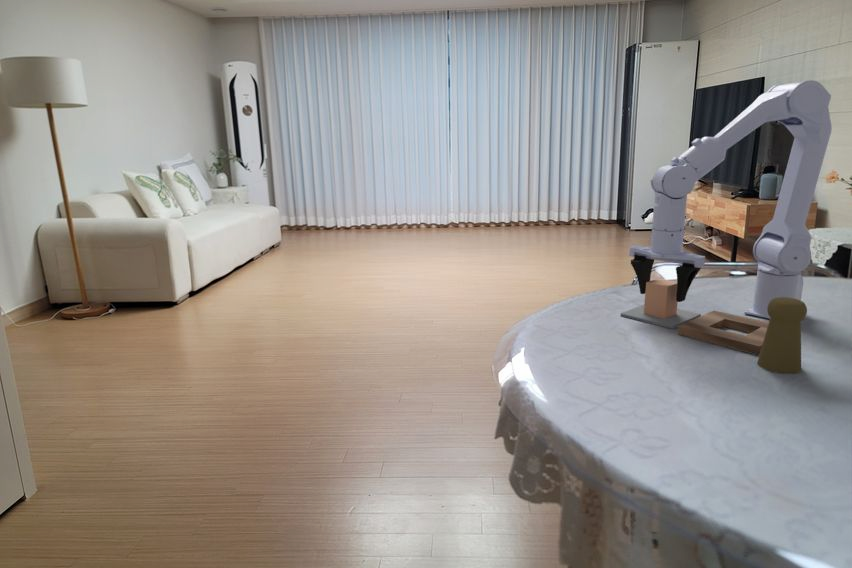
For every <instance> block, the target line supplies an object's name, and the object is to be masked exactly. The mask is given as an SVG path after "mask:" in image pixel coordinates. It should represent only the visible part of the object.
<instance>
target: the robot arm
mask: <svg viewBox="0 0 852 568" xmlns="http://www.w3.org/2000/svg"><path fill="white" fill-rule="evenodd" d="M831 99H832V95H831V93H829V91H828V90H827V89H826V88H825V86H824V85H822V83H820V82H819V81H816V80H813V79H812V80H811V79H809V80H804V81H800V82H799V81H798V82H791V83H778V84H774V85H773V86H772V87H770V88H769V89H768V90H767V91H766V92H764V93H761V94H760V95H759V96H758V97H756V99H755V100H754V101H753V102H752V103H751V104H750V105H749V106H747V107H746V108H745V109H744V110H743V111H742V112H740V114H738V115H737V116H736V117H735V118H733V120H731V121H730V122H729V123H728V124H727V125H726V126H724V127H723V128H722V129H721V130H720V131H719V132H718V133H717V134H715V135H714V136H703V137H701V138H695V139H693V141H691V145H692V146H690V147H689V148H687V149H686V150H685V151H684V152H683V153H682V154H680V155H679V156H674V157H673V158H672V159H670V162H671V163H670V164H668V165H663V166H661V167H659V168H658V169H657V170H656V171H655V173H654V176H653V177H652V179H650V186H651V188H652V190H653V192H654V193H655V194H654V202H653V213H652V214H653V215H652V225H651V238H650V239H651V241H650V246H641V245H634V246H630V247H629V254H628V256H629V257H632V258H633V259H631V260H630V264H631V267H632V268H633V271H634V273H635V275H636V279H637V282H638V288H639V293H640V294H641V295H645V291H646V282H649V281H651V275H652V270H653V266H654V262H655V260H656V261H661V262H667V263H673V264H674V263H675V264H679V266H678V265H677V266H675V271H676V272H675V273H676V278H677V279H676V282H677V293H676V301H677V302H678V303H682V302H684V301H686V297H687V294H688V292H689V289H690V287H691V285H692V283H693V281H694V280H695V278H696V276H697V275H698V273H699V272H700V271H701V270H702V269H701V268H704V267H705V262H706V256H705V255H700V254H695V253H691V252H687V251H683V245H684V233H685V223H686V212H687V200H688V194H691V193H692V191H693V190H694V189H695V184H696V183H697V182H698V181H699V180H701V179H702V178H703V177H704V176H705V175H708V173H709V172H711V171H712V170H713V169H715V168H716V167H717V166H718V165H719V164H722V162H723V161H725V159H726V156H727V151H728V149H730V148H731V147H733V146H734V145H735V144H737V143H738V142H739V141H741V140H743V139H745V137H746V136H748V135H749V134H751V133H752V132H753V131H755V130H756V129H758V128H760V127H761V126H762V125H764V124H765V123H770V122H774V121H777V122H778V123H780V124H782V125H784V127H785V128H787V130H788V131H789V132H790V133H791V134H792V136H793V142H792V146H791V150H790V152H789V153H790V154H789V158H788V161H787V165H786V168H785V172H784V176H783V179H782V183H781V188H780V192H779V195H778V197H777V203H776V206H775V210H774V214H773V218H772V219H771V220H770V221H769V222H767V224H765V226H763V227H762V231H761V234H760V236H759V237H758V239H757V240H756V241H755V242H754V244H753V248H752V255H753V256H754V259H755V260H756V261H757V272H756V273H757V274H756V281H755V287H754V288H755V289H754V295H753V304H752V305H753V306H752V307H750V308H747V309H746V310H744V311H743V312H744V314H746V315H750V316H755V317H760V318H764V319H768V320H770V316H769V315H768V311H767V308H768V304H769V302H770V301H771V300H772V299H774V298H778V297H788V298H794V299H798V300H800V301H802V297H803V296H802V295H803V290H804V278H803V276H802V273H803V271H805V269H807V267H808V266H809V265H810V262H811V259H812V252H811V251H812V250H811V242H812V239H813V237H812V235H811V233H810V231H809V229H808V227H807V226H806V222H807V220H808V215H809V212H810V209H811V206H812V200H813V198H814V194H815V191H816V187H817V183H818V180H819V176H820V173H821V169H822V166H823V164H824V163H823V162H824V159H825V155H826V152H827V150H828V149H827V148H828V144H829V142H830V138H831V133H832V121H831V116H830V110H829V105H830V102H831Z"/></svg>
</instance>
